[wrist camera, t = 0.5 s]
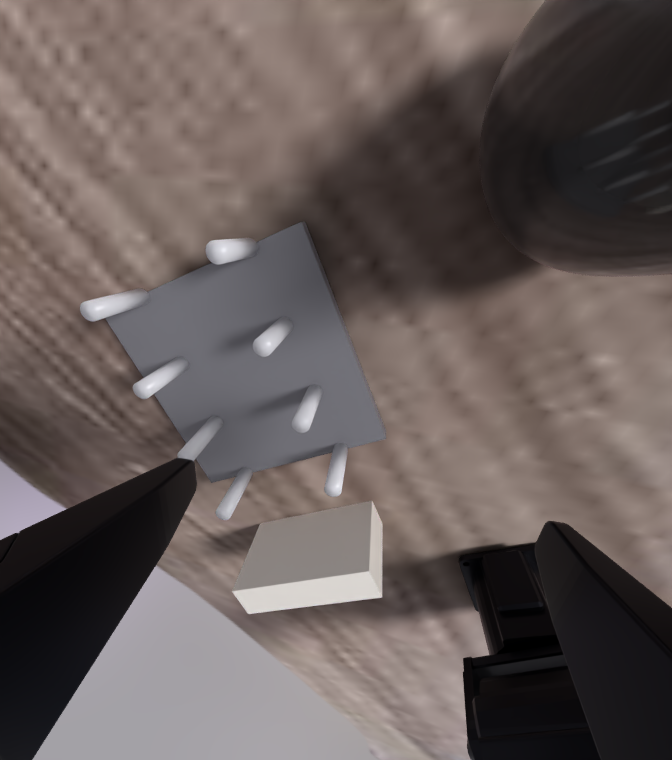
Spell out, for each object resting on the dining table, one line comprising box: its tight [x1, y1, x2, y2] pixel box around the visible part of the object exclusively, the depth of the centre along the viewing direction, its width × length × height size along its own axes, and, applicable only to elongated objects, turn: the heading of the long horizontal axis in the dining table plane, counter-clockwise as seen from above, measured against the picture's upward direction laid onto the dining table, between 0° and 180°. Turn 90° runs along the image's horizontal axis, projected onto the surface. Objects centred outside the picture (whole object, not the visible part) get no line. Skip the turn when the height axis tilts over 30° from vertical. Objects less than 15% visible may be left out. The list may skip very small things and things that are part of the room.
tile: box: [232, 501, 382, 614], centre depth 25 cm, size 2×10×6 cm, turn 111°
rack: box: [80, 222, 386, 520], centre depth 20 cm, size 15×14×5 cm
